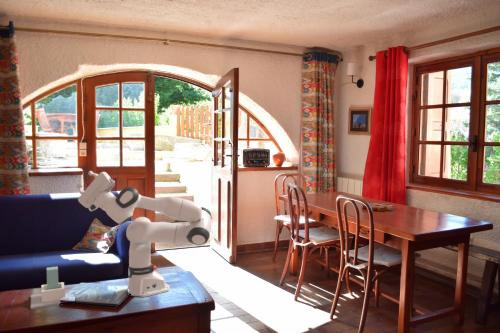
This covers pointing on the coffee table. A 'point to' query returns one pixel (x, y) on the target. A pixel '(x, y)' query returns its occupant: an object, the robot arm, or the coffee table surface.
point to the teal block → (52, 278)
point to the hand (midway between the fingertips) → (83, 178)
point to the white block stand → (48, 296)
